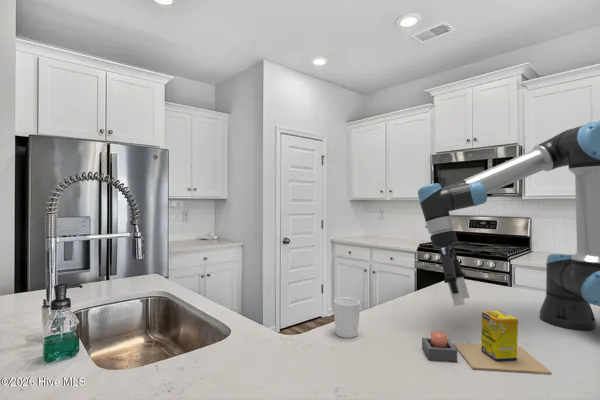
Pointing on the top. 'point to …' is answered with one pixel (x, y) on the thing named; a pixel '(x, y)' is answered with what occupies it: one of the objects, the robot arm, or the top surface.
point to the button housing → (439, 351)
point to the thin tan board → (485, 362)
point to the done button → (438, 339)
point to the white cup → (346, 316)
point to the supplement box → (499, 336)
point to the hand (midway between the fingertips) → (462, 301)
